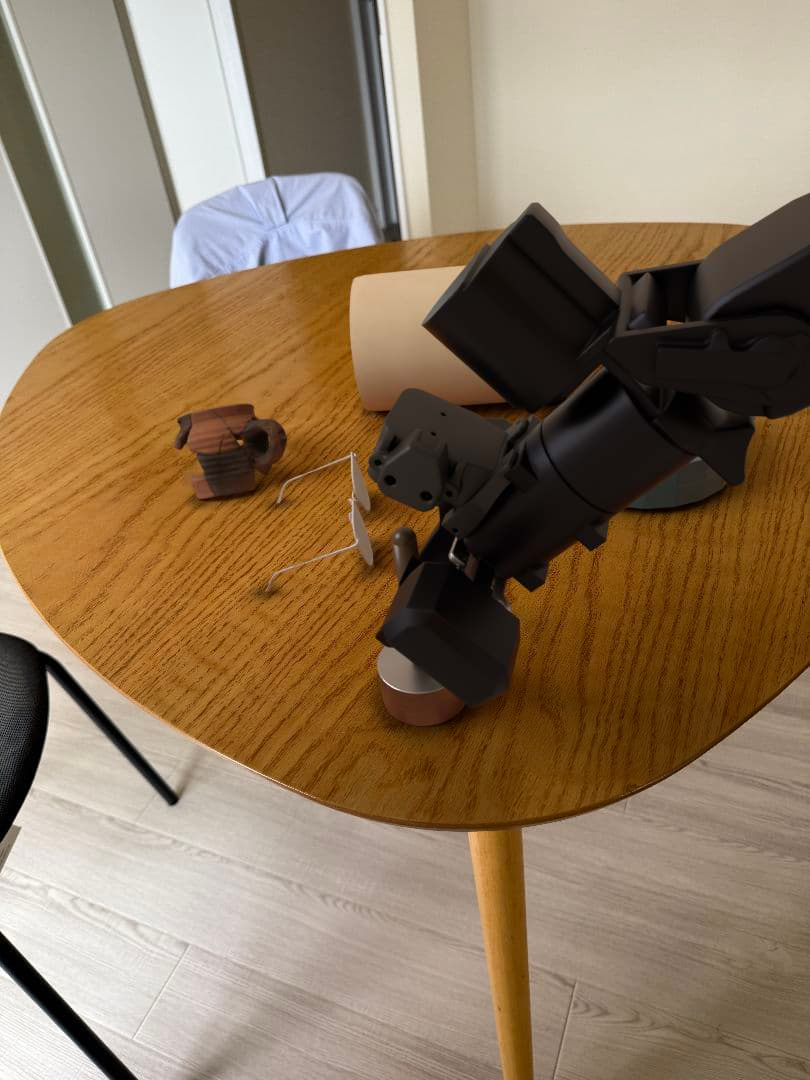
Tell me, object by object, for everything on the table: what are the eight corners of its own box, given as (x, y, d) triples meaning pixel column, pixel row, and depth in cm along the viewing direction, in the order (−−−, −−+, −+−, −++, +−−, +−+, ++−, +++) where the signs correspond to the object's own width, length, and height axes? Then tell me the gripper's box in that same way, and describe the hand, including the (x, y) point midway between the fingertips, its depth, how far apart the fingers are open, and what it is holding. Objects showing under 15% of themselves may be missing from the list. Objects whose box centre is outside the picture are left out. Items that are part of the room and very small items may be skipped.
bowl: (772, 466, 66) (781, 419, 64) (645, 537, 61) (649, 489, 58) (637, 409, 77) (640, 367, 75) (518, 465, 71) (517, 421, 69)
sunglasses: (374, 582, 60) (354, 531, 57) (271, 609, 61) (246, 561, 58) (369, 487, 71) (352, 441, 68) (282, 511, 72) (262, 467, 69)
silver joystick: (487, 697, 49) (474, 530, 42) (414, 741, 47) (386, 574, 40) (436, 649, 53) (416, 489, 46) (367, 688, 51) (333, 526, 44)
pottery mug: (167, 508, 73) (146, 421, 73) (226, 496, 82) (209, 419, 81) (273, 485, 68) (252, 392, 68) (325, 475, 77) (307, 392, 76)
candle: (358, 254, 82) (601, 231, 79) (376, 372, 91) (596, 355, 88) (341, 310, 72) (620, 286, 68) (364, 437, 80) (612, 421, 77)
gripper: (496, 281, 43) (340, 449, 52) (402, 454, 28) (213, 641, 38) (637, 414, 45) (464, 551, 55) (616, 635, 31) (387, 769, 40)
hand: (393, 613), depth 47 cm, fingers open, 4 cm apart
